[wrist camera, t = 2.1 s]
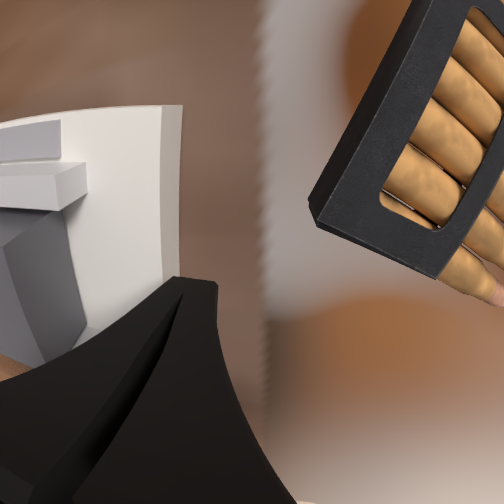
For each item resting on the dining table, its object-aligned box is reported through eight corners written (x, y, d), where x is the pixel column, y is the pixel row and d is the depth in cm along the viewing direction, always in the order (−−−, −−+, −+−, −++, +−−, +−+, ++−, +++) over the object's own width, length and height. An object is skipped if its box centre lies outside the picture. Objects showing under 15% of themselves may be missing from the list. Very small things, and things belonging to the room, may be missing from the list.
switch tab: (87, 323, 11) (52, 376, 8) (21, 304, 11) (-15, 345, 8) (62, 205, 8) (2, 246, 6) (-7, 201, 8) (-59, 233, 6)
